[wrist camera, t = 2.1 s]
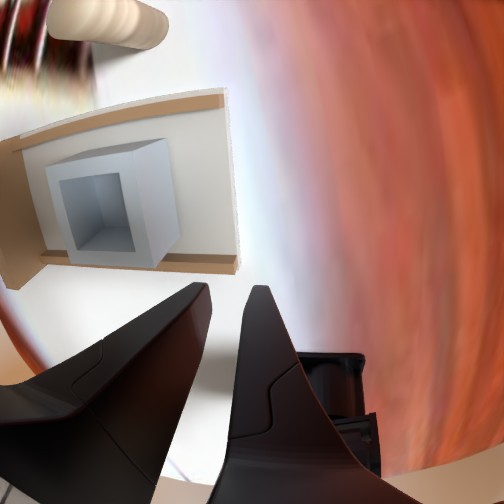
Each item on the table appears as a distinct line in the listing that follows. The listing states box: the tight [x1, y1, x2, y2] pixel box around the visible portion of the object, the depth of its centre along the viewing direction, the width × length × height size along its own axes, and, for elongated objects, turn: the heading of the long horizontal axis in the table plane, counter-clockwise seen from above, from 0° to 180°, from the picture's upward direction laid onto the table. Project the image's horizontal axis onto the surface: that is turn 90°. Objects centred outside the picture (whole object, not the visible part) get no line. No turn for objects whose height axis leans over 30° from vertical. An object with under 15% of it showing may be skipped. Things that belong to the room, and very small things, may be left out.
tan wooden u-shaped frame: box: [0, 87, 241, 290], centre depth 19 cm, size 20×12×6 cm, turn 93°
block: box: [45, 138, 181, 268], centre depth 18 cm, size 7×7×4 cm
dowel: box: [46, 0, 169, 50], centre depth 12 cm, size 3×3×8 cm
